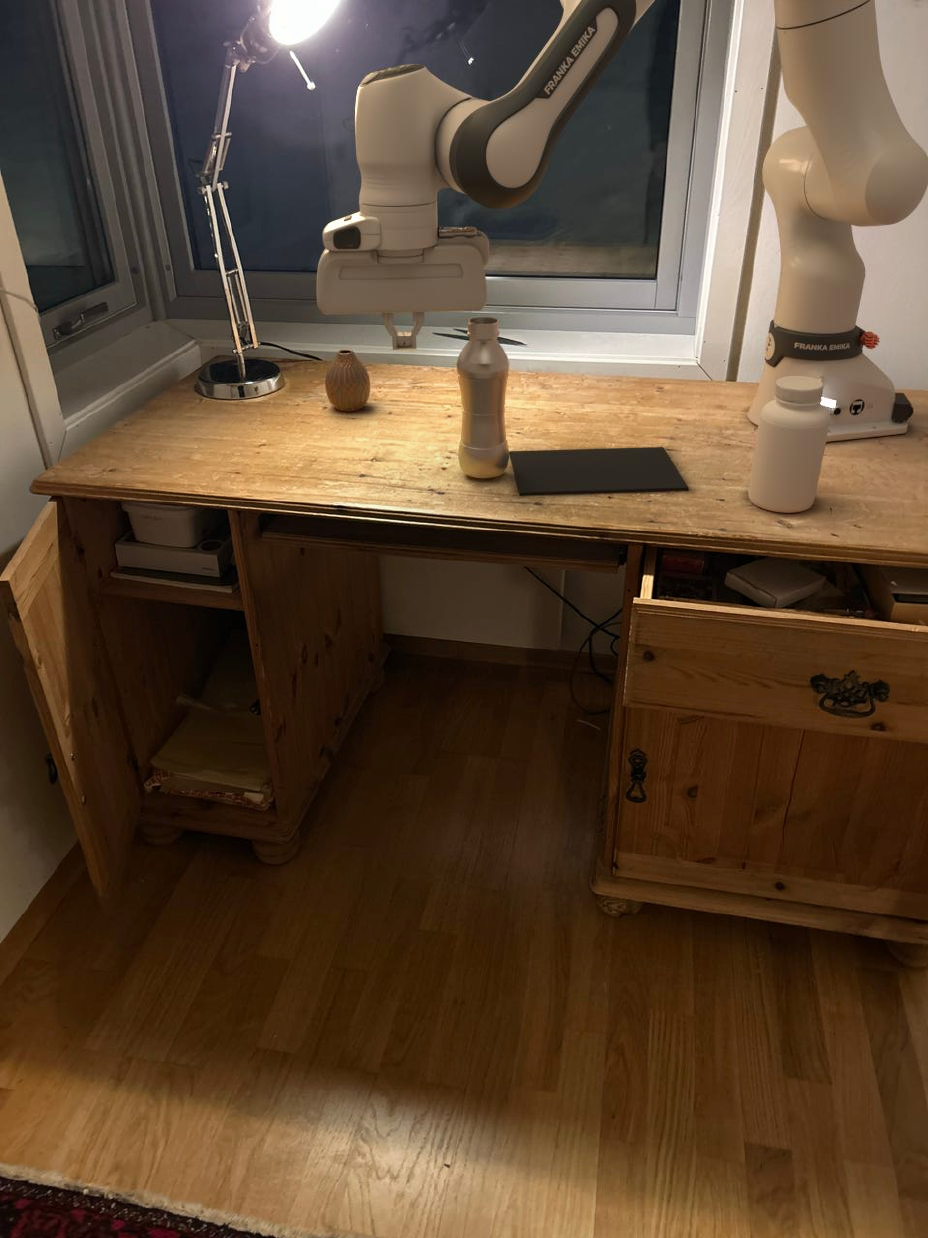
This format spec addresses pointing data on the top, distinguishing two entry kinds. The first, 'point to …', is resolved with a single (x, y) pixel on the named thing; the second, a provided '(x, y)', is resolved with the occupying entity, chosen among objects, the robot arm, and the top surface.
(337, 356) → the vase
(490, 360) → the plastic bottle
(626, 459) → the mat
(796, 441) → the pill bottle
